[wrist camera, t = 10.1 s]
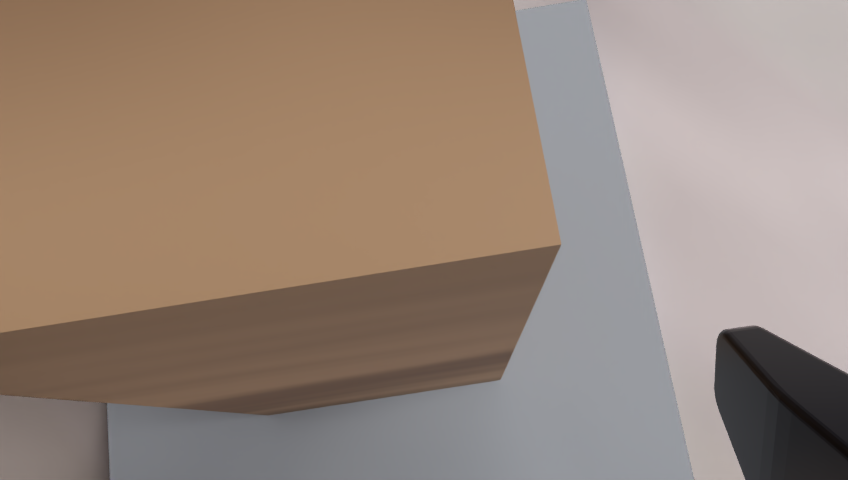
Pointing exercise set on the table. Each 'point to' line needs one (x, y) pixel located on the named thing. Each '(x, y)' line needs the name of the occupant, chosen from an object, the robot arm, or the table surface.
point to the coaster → (531, 359)
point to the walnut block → (265, 200)
